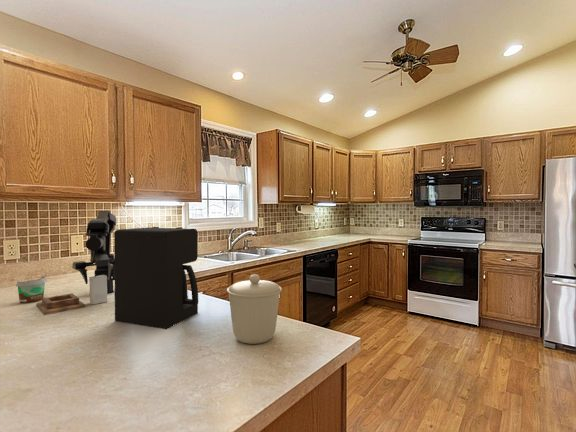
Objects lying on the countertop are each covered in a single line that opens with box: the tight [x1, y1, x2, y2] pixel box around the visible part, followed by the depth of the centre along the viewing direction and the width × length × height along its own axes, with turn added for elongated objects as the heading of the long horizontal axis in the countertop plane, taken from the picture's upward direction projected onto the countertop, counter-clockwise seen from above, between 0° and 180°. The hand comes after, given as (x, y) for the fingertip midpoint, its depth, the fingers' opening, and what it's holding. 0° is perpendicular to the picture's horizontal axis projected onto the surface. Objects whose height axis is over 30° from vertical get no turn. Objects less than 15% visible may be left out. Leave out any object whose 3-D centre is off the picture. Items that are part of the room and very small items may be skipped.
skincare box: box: [88, 275, 108, 305], centre depth 142 cm, size 6×4×12 cm
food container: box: [15, 276, 48, 304], centre depth 144 cm, size 12×6×10 cm, turn 168°
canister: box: [226, 273, 283, 345], centre depth 103 cm, size 18×18×21 cm
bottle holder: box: [35, 292, 86, 316], centre depth 136 cm, size 14×18×4 cm
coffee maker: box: [113, 226, 199, 330], centre depth 122 cm, size 28×20×35 cm
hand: (98, 282), depth 142 cm, fingers open, 9 cm apart
